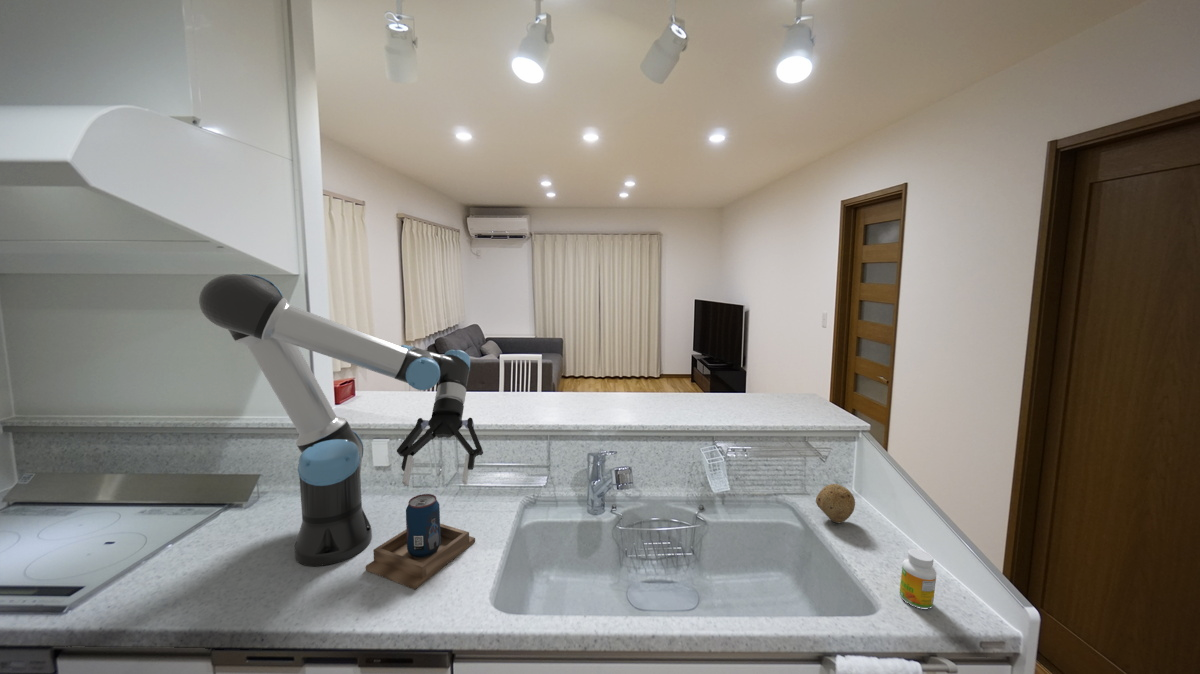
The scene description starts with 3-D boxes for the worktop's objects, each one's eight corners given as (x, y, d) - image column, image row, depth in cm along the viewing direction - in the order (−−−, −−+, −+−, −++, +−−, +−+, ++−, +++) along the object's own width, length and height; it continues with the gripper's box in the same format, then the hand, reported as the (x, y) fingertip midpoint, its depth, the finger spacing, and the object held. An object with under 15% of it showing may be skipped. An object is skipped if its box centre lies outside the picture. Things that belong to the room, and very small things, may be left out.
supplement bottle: (892, 591, 88) (897, 546, 87) (917, 590, 89) (922, 546, 87) (913, 611, 83) (918, 563, 82) (940, 610, 83) (945, 563, 82)
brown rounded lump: (809, 519, 115) (812, 483, 114) (822, 508, 121) (825, 474, 120) (846, 534, 108) (850, 496, 107) (858, 522, 114) (862, 485, 113)
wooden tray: (365, 570, 92) (365, 554, 92) (430, 527, 109) (429, 514, 108) (415, 589, 87) (414, 573, 86) (475, 541, 103) (474, 527, 103)
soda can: (414, 542, 101) (412, 492, 99) (444, 541, 101) (443, 492, 100) (402, 560, 94) (400, 508, 92) (435, 560, 94) (433, 507, 93)
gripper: (498, 409, 120) (490, 487, 107) (404, 410, 117) (385, 489, 105) (495, 396, 114) (486, 476, 101) (396, 396, 111) (374, 479, 99)
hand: (435, 483), depth 103 cm, fingers open, 13 cm apart
